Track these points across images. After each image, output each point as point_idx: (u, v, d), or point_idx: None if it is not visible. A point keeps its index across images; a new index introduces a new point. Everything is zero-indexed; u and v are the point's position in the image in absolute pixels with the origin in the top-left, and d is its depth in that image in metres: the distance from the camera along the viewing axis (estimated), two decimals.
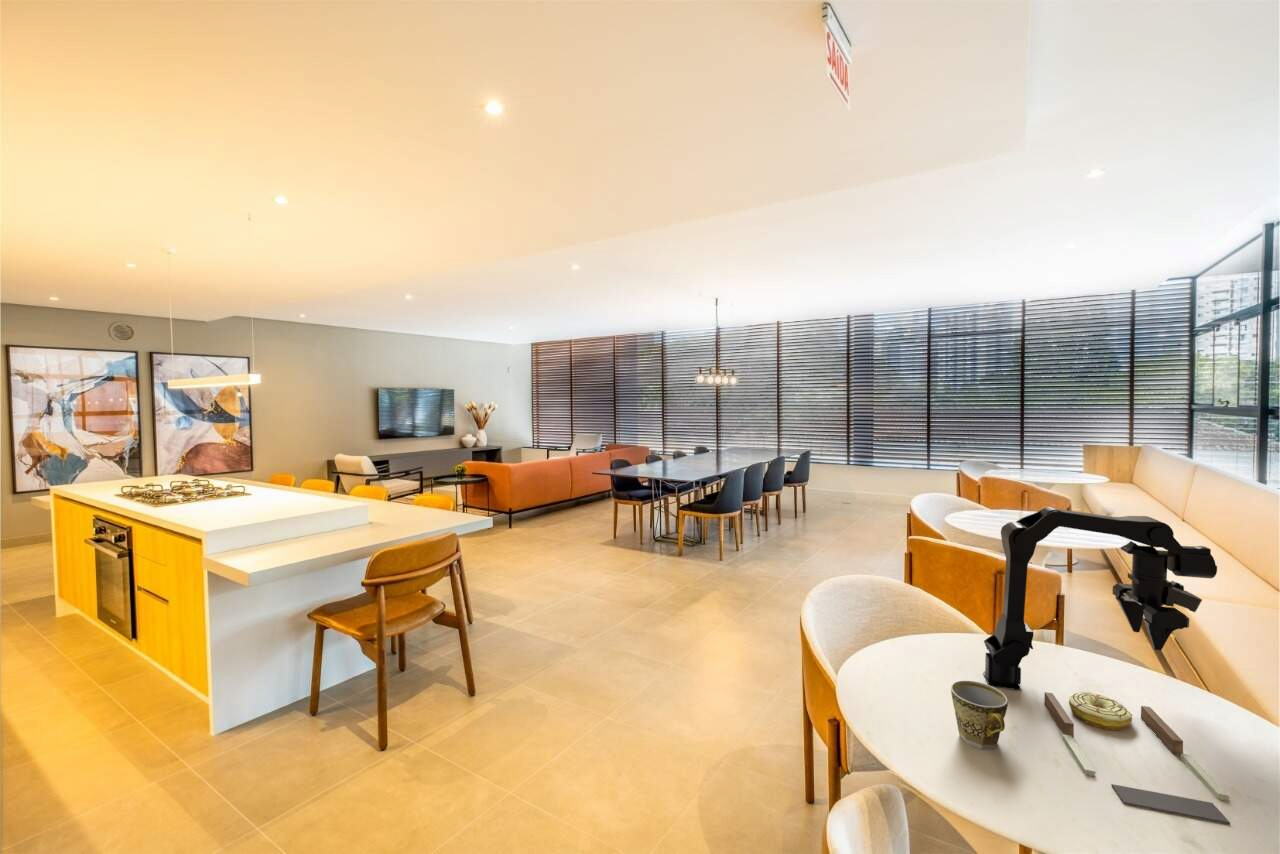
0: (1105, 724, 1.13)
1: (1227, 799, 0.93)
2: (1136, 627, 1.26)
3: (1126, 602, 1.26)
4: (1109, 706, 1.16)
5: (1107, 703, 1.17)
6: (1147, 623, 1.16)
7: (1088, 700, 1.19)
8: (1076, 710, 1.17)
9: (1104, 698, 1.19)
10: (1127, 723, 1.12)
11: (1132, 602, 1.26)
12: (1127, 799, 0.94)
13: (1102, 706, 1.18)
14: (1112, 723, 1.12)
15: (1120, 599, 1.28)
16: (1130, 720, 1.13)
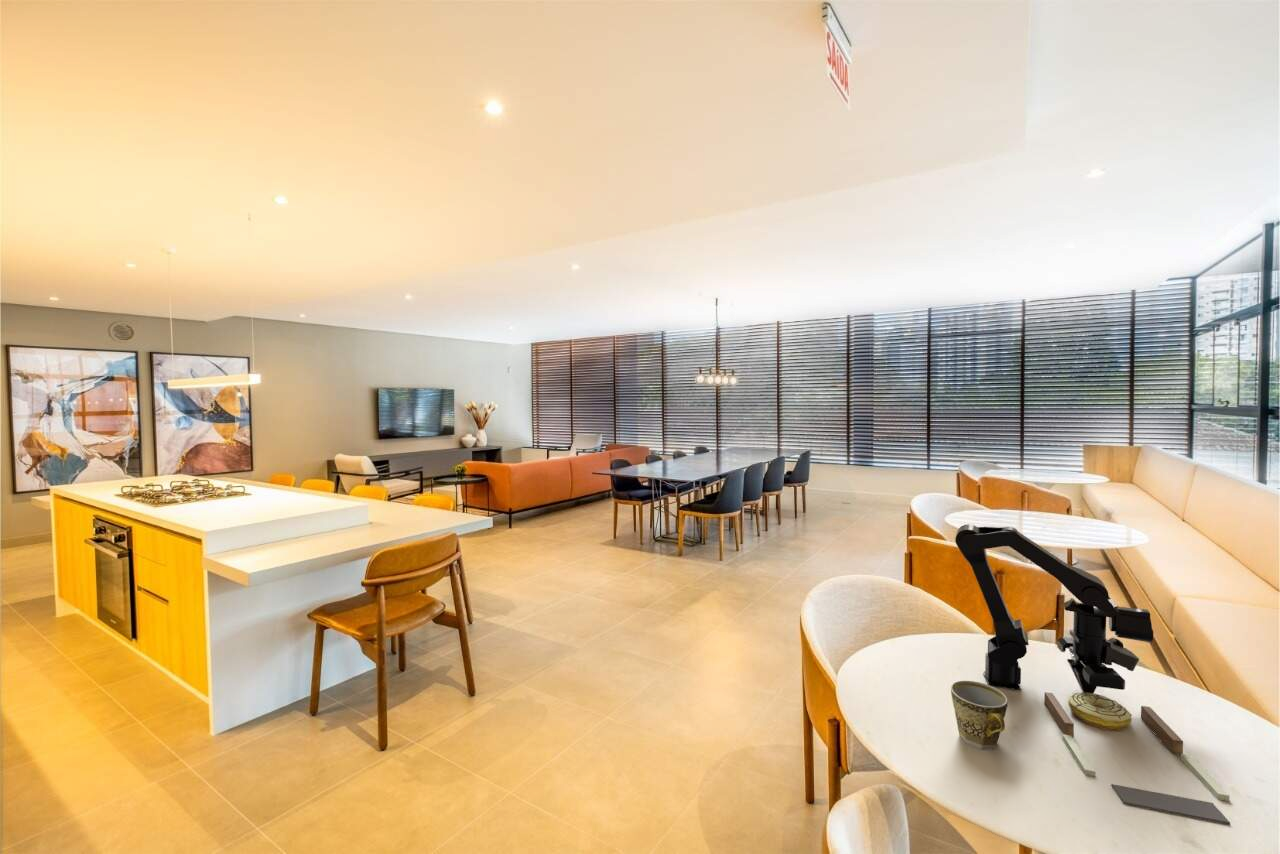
0: (1104, 724, 1.13)
1: (1227, 799, 0.93)
2: None
3: (1077, 666, 1.24)
4: (1108, 706, 1.16)
5: (1107, 703, 1.17)
6: (1077, 673, 1.22)
7: (1088, 700, 1.19)
8: (1075, 710, 1.17)
9: (1104, 698, 1.19)
10: (1126, 723, 1.12)
11: (1083, 666, 1.24)
12: (1127, 799, 0.94)
13: (1102, 706, 1.18)
14: (1112, 723, 1.12)
15: (1071, 662, 1.25)
16: (1129, 720, 1.13)
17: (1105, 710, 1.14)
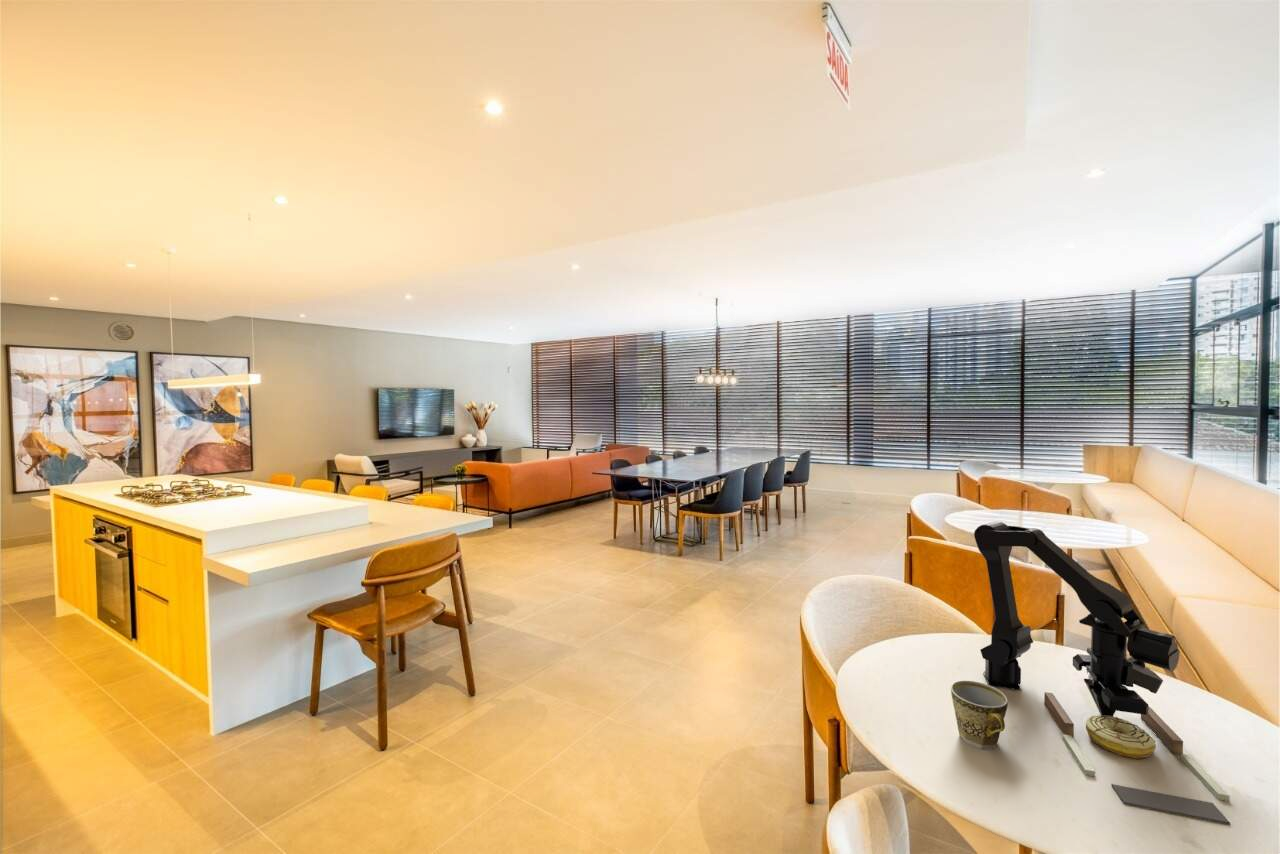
0: (1126, 751, 1.04)
1: (1227, 799, 0.93)
2: None
3: (1095, 687, 1.15)
4: (1130, 731, 1.07)
5: (1128, 727, 1.09)
6: (1095, 694, 1.13)
7: (1107, 724, 1.10)
8: (1094, 735, 1.08)
9: (1124, 722, 1.10)
10: (1150, 750, 1.04)
11: (1101, 687, 1.15)
12: (1127, 799, 0.94)
13: (1122, 731, 1.09)
14: (1134, 751, 1.03)
15: (1089, 683, 1.16)
16: (1153, 747, 1.04)
17: (1127, 736, 1.05)
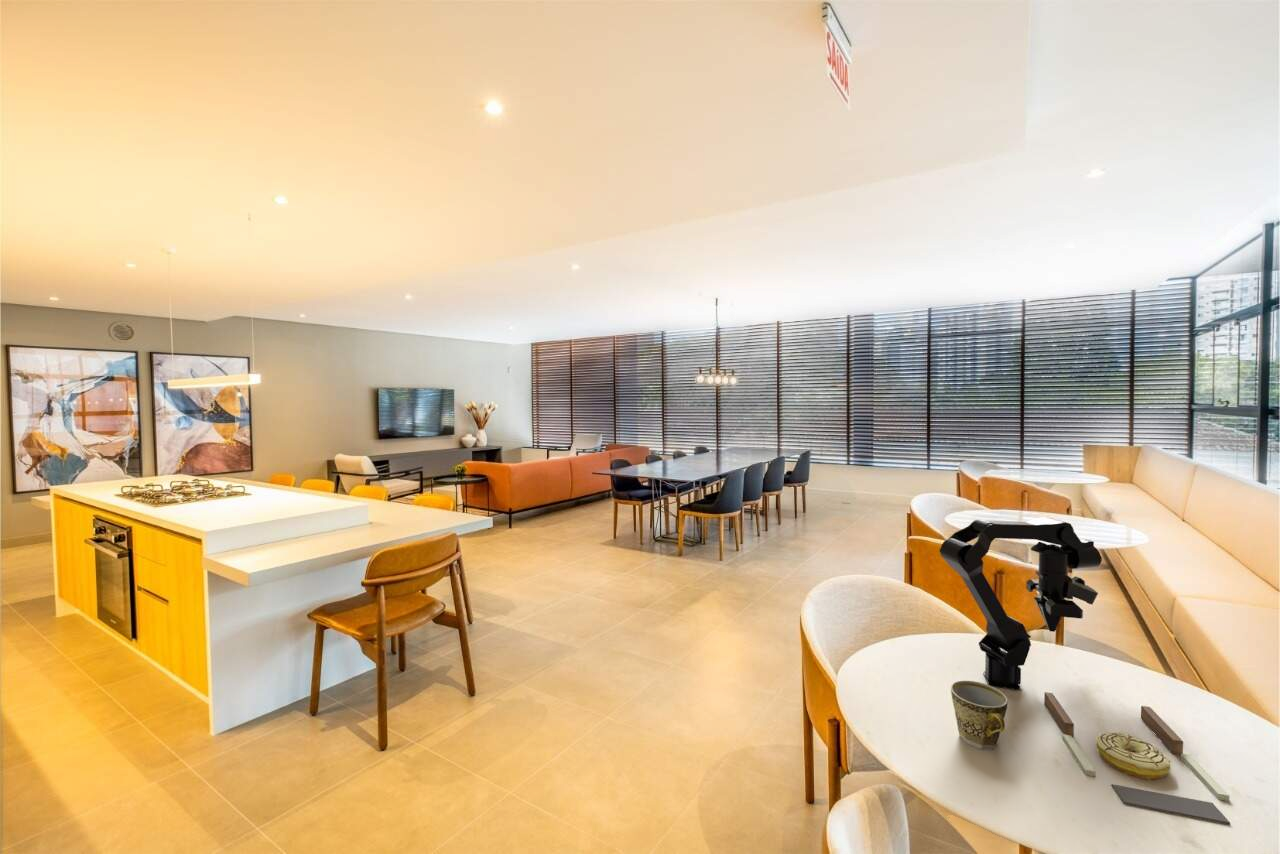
0: (1139, 772, 0.99)
1: (1227, 799, 0.93)
2: None
3: (1042, 602, 1.34)
4: (1143, 750, 1.02)
5: (1141, 746, 1.03)
6: (1041, 607, 1.31)
7: (1119, 742, 1.05)
8: (1105, 754, 1.03)
9: (1137, 740, 1.04)
10: (1165, 772, 0.98)
11: None
12: (1127, 799, 0.94)
13: (1135, 750, 1.04)
14: (1148, 771, 0.98)
15: (1037, 599, 1.35)
16: (1168, 768, 0.98)
17: (1139, 755, 1.00)
